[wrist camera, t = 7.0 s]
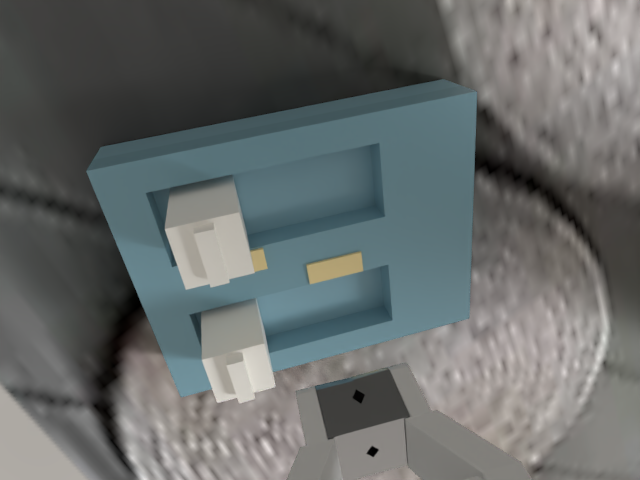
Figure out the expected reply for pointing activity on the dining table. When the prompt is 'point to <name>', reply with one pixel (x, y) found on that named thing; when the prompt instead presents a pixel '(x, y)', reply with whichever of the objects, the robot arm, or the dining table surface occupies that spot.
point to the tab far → (236, 351)
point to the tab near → (208, 232)
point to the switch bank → (310, 222)
